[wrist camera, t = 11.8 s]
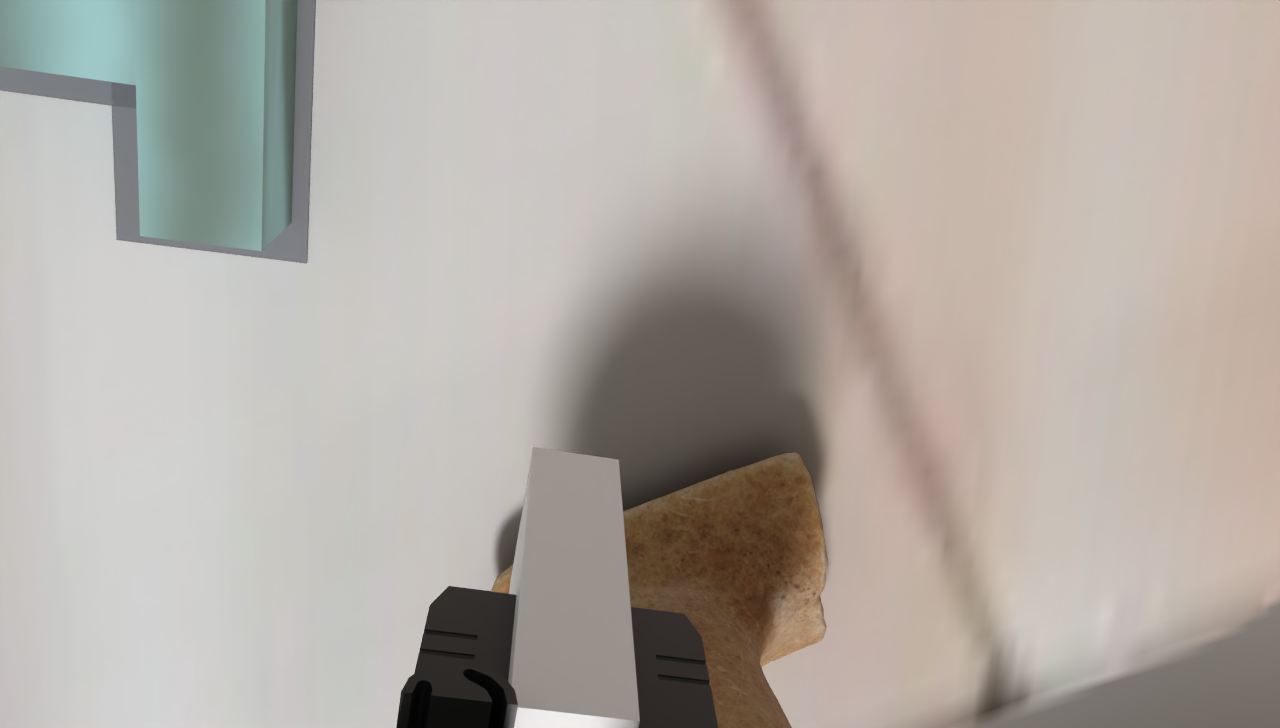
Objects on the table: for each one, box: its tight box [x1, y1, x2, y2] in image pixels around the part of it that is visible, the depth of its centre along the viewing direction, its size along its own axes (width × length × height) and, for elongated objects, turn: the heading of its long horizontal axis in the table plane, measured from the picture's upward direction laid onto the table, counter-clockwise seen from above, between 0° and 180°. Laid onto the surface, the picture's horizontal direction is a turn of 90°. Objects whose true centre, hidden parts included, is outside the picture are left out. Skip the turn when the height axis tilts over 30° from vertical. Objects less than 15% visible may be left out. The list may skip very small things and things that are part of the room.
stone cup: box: [492, 453, 828, 728], centre depth 39 cm, size 15×12×15 cm
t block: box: [0, 0, 298, 251], centre depth 34 cm, size 14×14×4 cm
